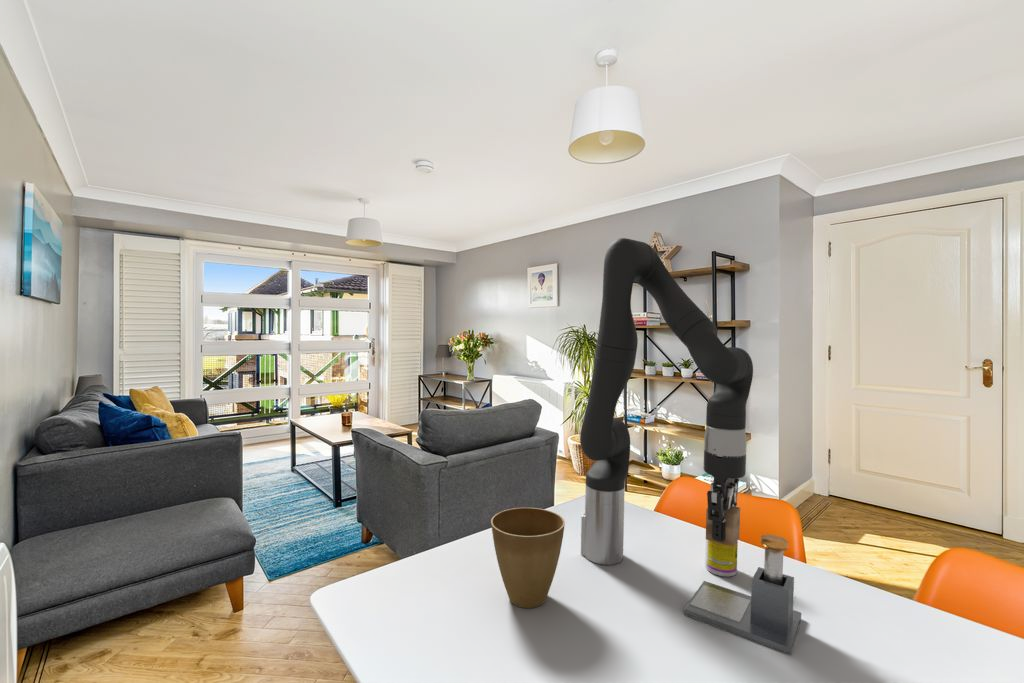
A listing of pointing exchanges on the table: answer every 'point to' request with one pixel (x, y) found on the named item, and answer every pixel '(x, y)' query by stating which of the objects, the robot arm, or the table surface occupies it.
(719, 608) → the grey assembly fixture
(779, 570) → the plunger
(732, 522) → the block
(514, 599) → the plant pot
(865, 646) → the table surface
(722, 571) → the supplement bottle
